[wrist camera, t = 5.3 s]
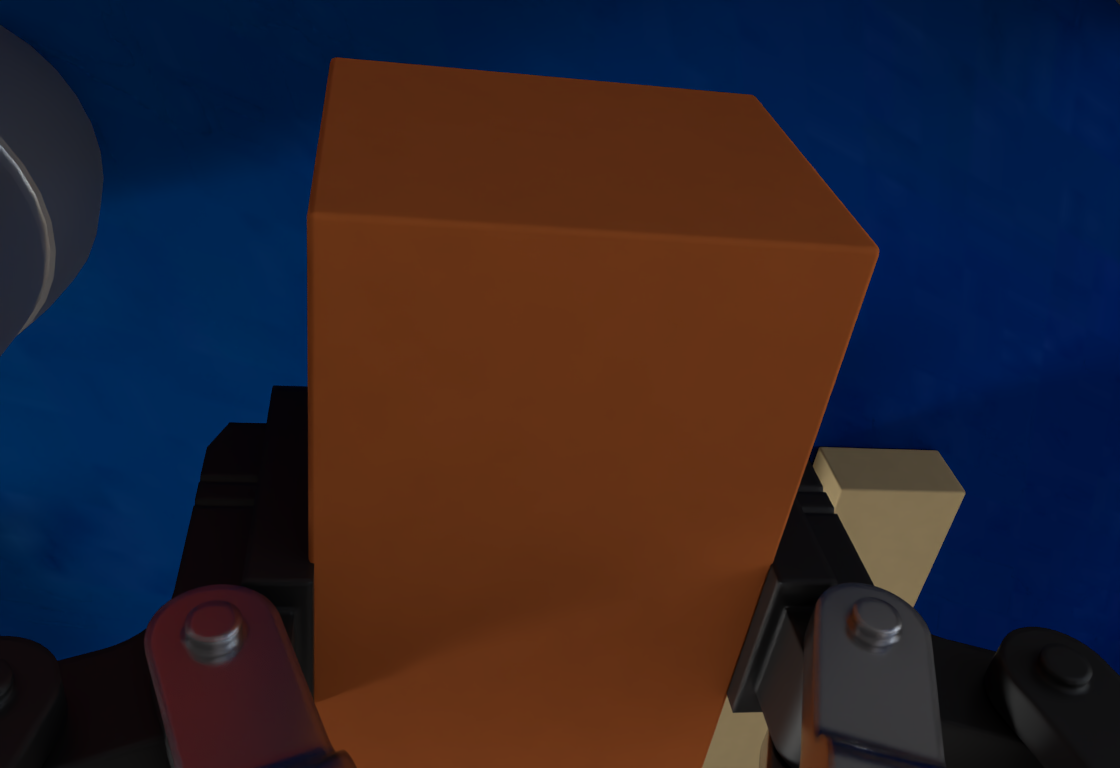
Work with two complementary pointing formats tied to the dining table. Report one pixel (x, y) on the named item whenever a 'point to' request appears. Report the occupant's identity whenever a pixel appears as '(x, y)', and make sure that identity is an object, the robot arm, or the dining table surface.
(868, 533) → the notch pad
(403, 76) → the pad
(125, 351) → the dining table surface
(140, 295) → the dining table surface
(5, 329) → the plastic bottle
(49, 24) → the dining table surface
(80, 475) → the dining table surface
